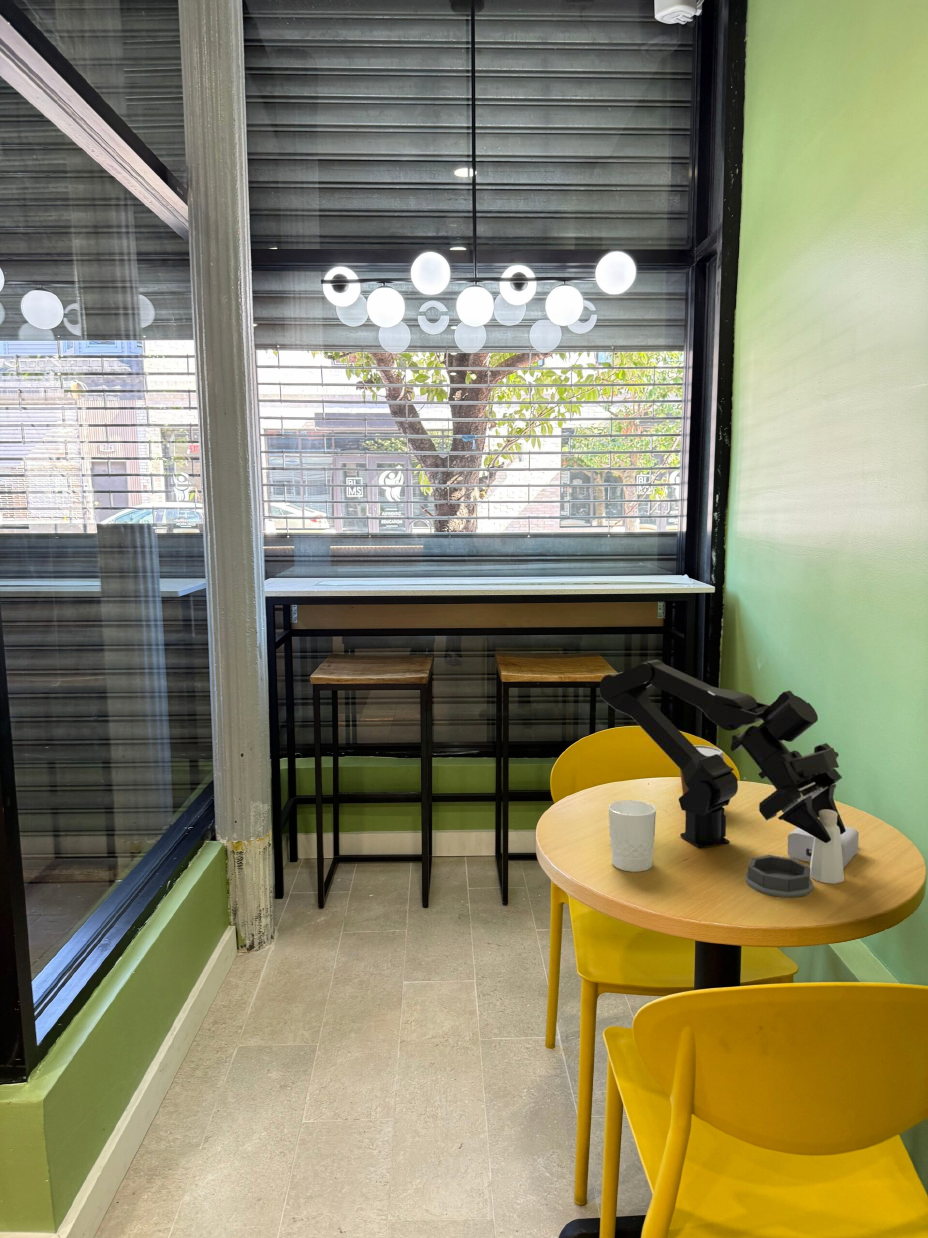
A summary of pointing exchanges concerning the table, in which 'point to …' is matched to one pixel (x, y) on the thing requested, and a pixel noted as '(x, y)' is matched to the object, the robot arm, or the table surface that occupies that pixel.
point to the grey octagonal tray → (779, 876)
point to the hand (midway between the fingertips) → (836, 837)
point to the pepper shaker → (827, 852)
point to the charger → (803, 841)
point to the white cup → (632, 834)
